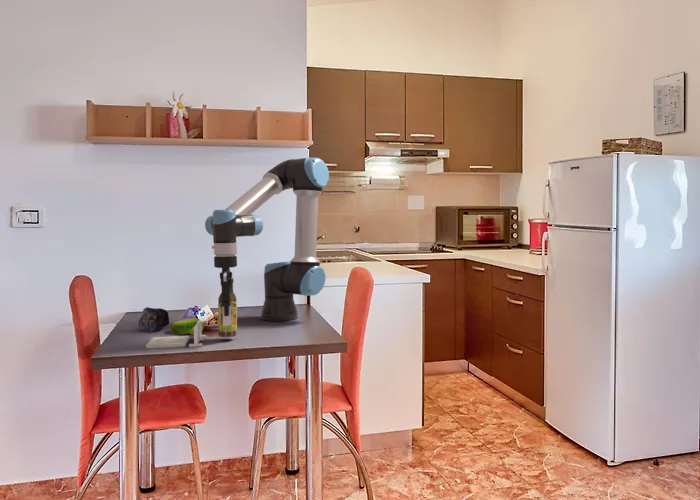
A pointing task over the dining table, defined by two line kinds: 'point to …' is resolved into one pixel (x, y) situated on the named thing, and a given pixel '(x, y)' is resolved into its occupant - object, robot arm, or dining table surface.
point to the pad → (168, 342)
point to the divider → (197, 335)
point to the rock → (153, 319)
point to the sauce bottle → (231, 329)
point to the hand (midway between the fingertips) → (227, 323)
